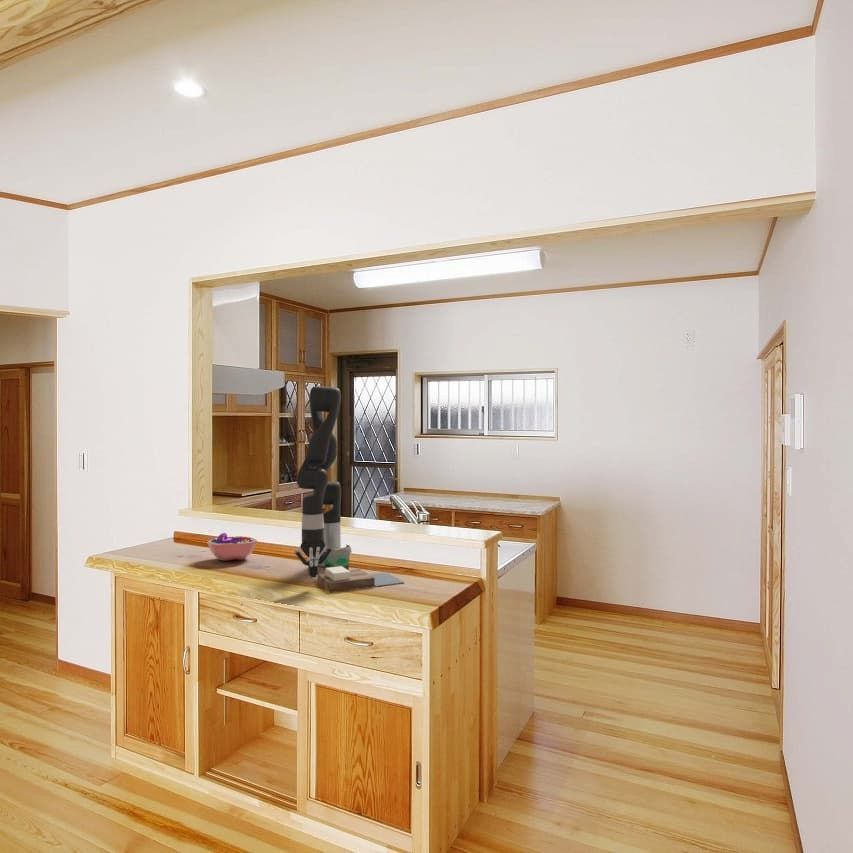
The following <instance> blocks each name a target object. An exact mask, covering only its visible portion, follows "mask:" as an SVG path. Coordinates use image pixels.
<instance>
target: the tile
mask: <svg viewBox="0 0 853 853" xmlns="http://www.w3.org/2000/svg"><path fill="white" fill-rule="evenodd" d="M349 570H350V569H349ZM349 570H347V569H345V568H344V567H342V566H338V567H330V568H326V571H325V573H326V576H328V577H329V578H330V579H332V580H333V581H337V580H345V579H350V571H349Z"/></svg>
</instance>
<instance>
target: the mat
mask: <svg viewBox="0 0 853 853" xmlns="http://www.w3.org/2000/svg"><path fill="white" fill-rule="evenodd" d="M368 574H369V575H371V576H372V577H374V578H375V586H374V588H378V587H377V586H380V587H386V586H385V585H387V586H393V585H394V584H395V585H401V584H402V585H403V584H405V582H404V581H403V580H401V579H399V578H398V577H396V576H394V575H392V574H390V573H389V572H387V571H384V572H377V573H368Z"/></svg>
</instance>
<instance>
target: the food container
mask: <svg viewBox="0 0 853 853" xmlns="http://www.w3.org/2000/svg"><path fill="white" fill-rule="evenodd" d="M351 553H352V547H351V546H350V544H346V546H345V547H341V548H335V549H333V550H331V552H330V553H329V555H328V556H327V558H326V559H325V567H324V569H325V572H326V568H330V567H338V566H342V567H344V568H345V569H347V570H350V569H349V567H350V558H351V557H350V556H351Z"/></svg>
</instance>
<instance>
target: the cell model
mask: <svg viewBox="0 0 853 853" xmlns="http://www.w3.org/2000/svg"><path fill="white" fill-rule="evenodd" d="M206 543H207V545H208V547H209V550H210V552H211V554H212V555H213V556H214V557H215V558H216V559H219V560H220V561H223V562H229V561H235V560H238V561H241V560H244V559H246V558H247V557H249V556H250V555H251V554H252V553H253V552H254V550H255V549H256V545H257V543H258V539H256V538H253V537H250V536H242V535H241V536H228V534H227V533H226V532H222V533H220V534H219V535H218V536H217V538H216V537H215V538H211V539H209V540H208V541H207V542H206Z"/></svg>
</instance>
